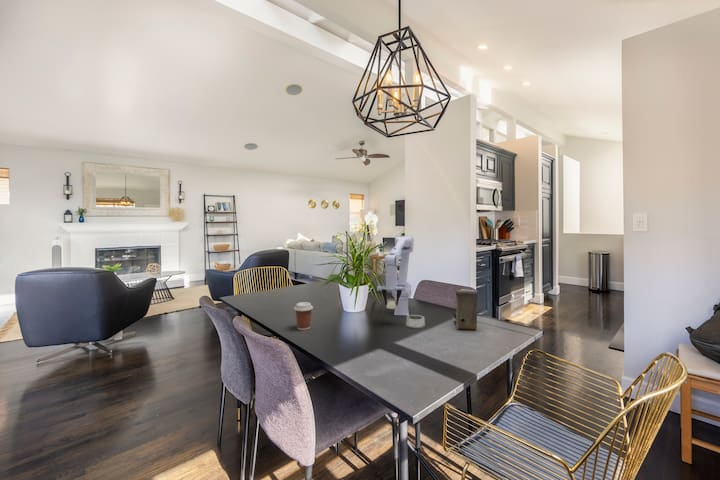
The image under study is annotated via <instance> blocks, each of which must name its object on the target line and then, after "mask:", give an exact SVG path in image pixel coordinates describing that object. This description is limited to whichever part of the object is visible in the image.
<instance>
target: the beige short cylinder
mask: <svg viewBox="0 0 720 480" xmlns="http://www.w3.org/2000/svg"><path fill="white" fill-rule="evenodd" d="M395 308H396V299H395V298H387V305H386V309H390V310H395Z"/></svg>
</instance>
